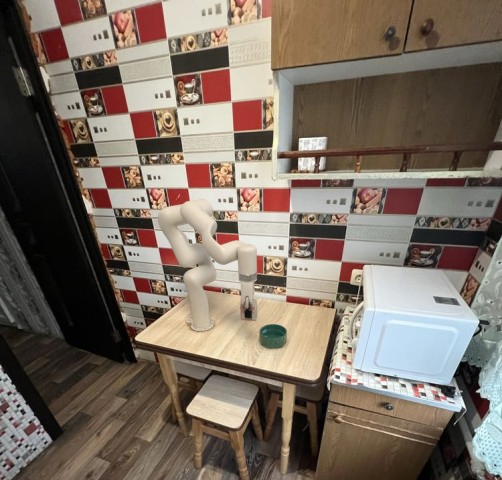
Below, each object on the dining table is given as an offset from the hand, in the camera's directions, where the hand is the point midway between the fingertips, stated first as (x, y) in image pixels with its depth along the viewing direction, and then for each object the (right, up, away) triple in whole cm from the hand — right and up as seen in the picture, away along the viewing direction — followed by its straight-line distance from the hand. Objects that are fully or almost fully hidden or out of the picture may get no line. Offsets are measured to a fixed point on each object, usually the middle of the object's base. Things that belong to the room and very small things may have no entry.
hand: (248, 314), depth 123 cm
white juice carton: (0, -2, +1) cm, 2 cm away
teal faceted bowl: (+12, -12, +12) cm, 21 cm away
